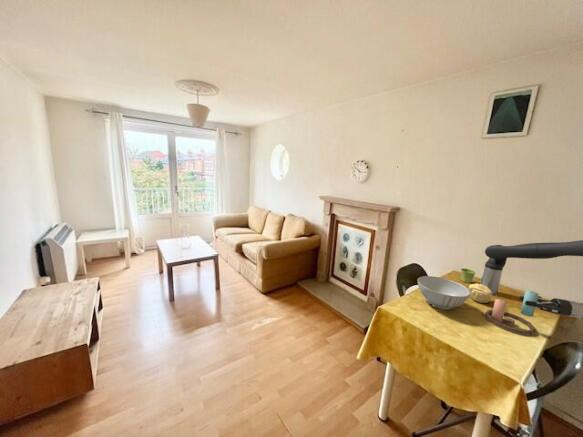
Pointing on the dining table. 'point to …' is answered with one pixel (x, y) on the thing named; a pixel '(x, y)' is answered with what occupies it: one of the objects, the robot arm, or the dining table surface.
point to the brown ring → (511, 323)
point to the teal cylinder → (527, 309)
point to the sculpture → (480, 293)
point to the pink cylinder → (499, 310)
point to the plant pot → (467, 275)
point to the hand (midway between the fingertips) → (523, 300)
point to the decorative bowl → (443, 292)
